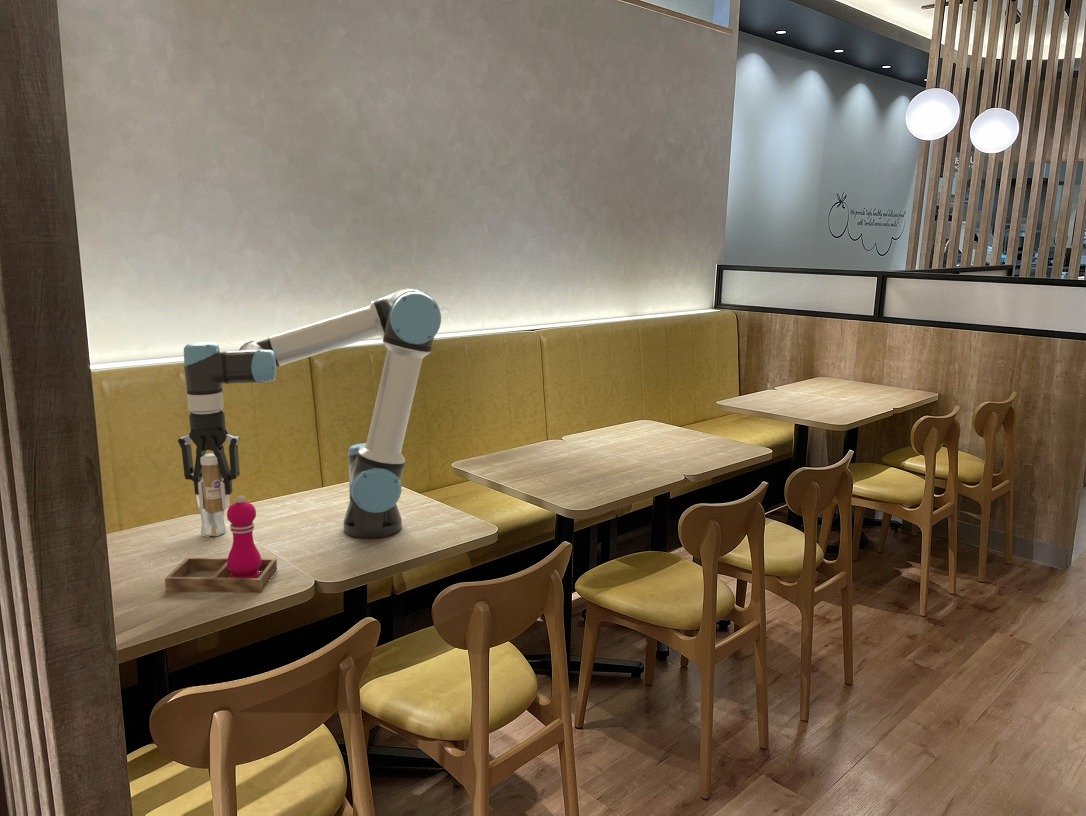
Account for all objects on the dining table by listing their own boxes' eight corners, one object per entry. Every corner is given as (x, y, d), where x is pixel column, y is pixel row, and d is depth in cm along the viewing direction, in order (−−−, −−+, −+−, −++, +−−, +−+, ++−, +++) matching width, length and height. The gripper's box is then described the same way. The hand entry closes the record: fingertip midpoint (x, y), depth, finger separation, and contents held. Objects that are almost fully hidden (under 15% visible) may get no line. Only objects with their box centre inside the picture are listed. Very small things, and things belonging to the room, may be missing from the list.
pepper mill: (222, 580, 181) (217, 495, 177) (253, 571, 186) (249, 488, 182) (236, 591, 176) (231, 503, 172) (268, 581, 181) (263, 496, 177)
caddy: (277, 570, 187) (276, 558, 186) (260, 592, 175) (260, 579, 175) (187, 569, 186) (186, 557, 186) (165, 591, 175) (164, 578, 174)
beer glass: (217, 538, 205) (214, 482, 202) (193, 536, 206) (189, 479, 203) (233, 529, 212) (230, 474, 208) (209, 527, 213) (205, 472, 210)
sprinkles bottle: (214, 514, 187) (209, 458, 184) (200, 511, 189) (195, 456, 186) (230, 509, 191) (225, 454, 188) (216, 505, 193) (211, 451, 190)
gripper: (250, 406, 189) (257, 502, 194) (174, 406, 188) (184, 502, 193) (239, 413, 181) (247, 512, 186) (160, 414, 181) (170, 513, 186)
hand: (215, 507), depth 190 cm, fingers closed on sprinkles bottle, 4 cm apart
